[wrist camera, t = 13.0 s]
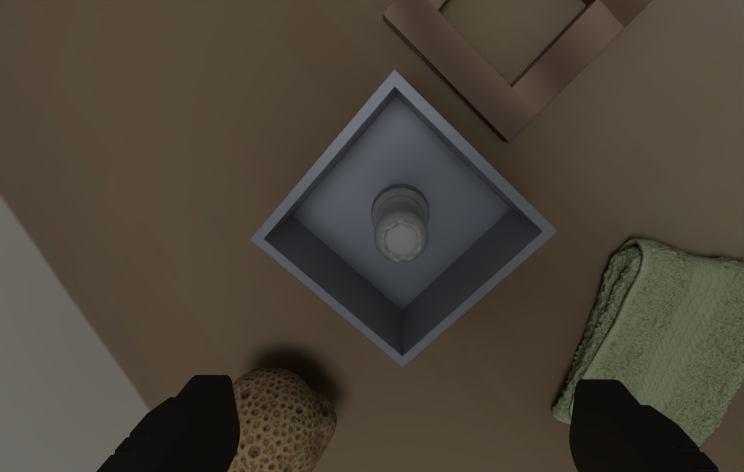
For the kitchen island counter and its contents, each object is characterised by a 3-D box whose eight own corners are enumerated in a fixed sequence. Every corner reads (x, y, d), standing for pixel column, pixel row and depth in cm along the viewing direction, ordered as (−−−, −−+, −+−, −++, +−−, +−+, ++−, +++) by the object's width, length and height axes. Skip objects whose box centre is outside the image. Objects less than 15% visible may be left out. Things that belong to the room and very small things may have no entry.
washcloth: (541, 410, 34) (555, 438, 31) (613, 229, 29) (638, 241, 26) (683, 439, 34) (711, 470, 31) (780, 262, 29) (825, 278, 26)
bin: (395, 83, 27) (394, 69, 20) (520, 206, 29) (557, 231, 22) (283, 213, 30) (250, 239, 24) (402, 316, 32) (402, 367, 25)
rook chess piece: (435, 230, 29) (449, 267, 22) (380, 245, 30) (375, 286, 22) (420, 175, 28) (429, 193, 20) (364, 191, 29) (352, 215, 21)
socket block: (517, -147, 23) (525, -165, 21) (643, 1, 24) (658, -7, 23) (383, 20, 26) (382, 13, 24) (503, 141, 28) (509, 142, 26)
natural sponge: (225, 361, 35) (159, 451, 25) (308, 327, 33) (271, 409, 24) (273, 435, 37) (229, 543, 27) (353, 406, 35) (337, 511, 26)
